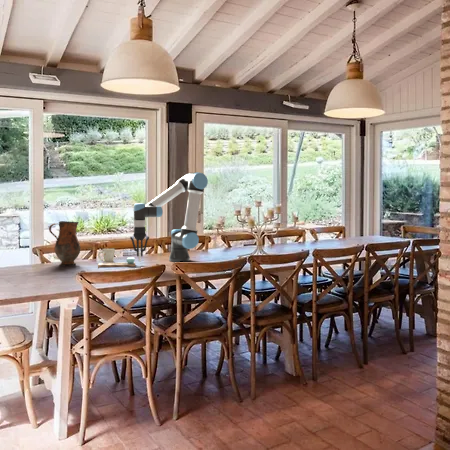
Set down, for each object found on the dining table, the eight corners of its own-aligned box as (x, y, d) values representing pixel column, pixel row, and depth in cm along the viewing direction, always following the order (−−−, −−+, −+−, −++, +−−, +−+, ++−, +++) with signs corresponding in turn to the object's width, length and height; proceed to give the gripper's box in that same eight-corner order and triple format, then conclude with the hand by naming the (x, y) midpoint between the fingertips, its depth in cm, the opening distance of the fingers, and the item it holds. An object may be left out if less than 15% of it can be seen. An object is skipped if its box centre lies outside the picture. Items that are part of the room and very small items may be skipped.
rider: (134, 264, 343) (134, 257, 342) (134, 266, 337) (134, 258, 336) (127, 264, 342) (127, 257, 342) (126, 266, 336) (126, 258, 336)
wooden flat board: (135, 265, 344) (135, 262, 344) (134, 268, 336) (134, 264, 336) (99, 266, 341) (99, 262, 341) (97, 268, 332) (97, 264, 332)
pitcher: (85, 264, 348) (84, 221, 345) (55, 268, 333) (54, 223, 331) (73, 262, 360) (72, 220, 357) (44, 265, 345) (43, 221, 342)
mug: (111, 264, 351) (111, 250, 350) (95, 263, 353) (94, 249, 352) (116, 262, 359) (116, 248, 358) (100, 262, 361) (100, 248, 360)
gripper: (149, 225, 343) (149, 260, 345) (130, 226, 341) (130, 260, 343) (149, 226, 335) (149, 262, 337) (129, 226, 334) (129, 262, 335)
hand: (139, 261), depth 340 cm, fingers closed
